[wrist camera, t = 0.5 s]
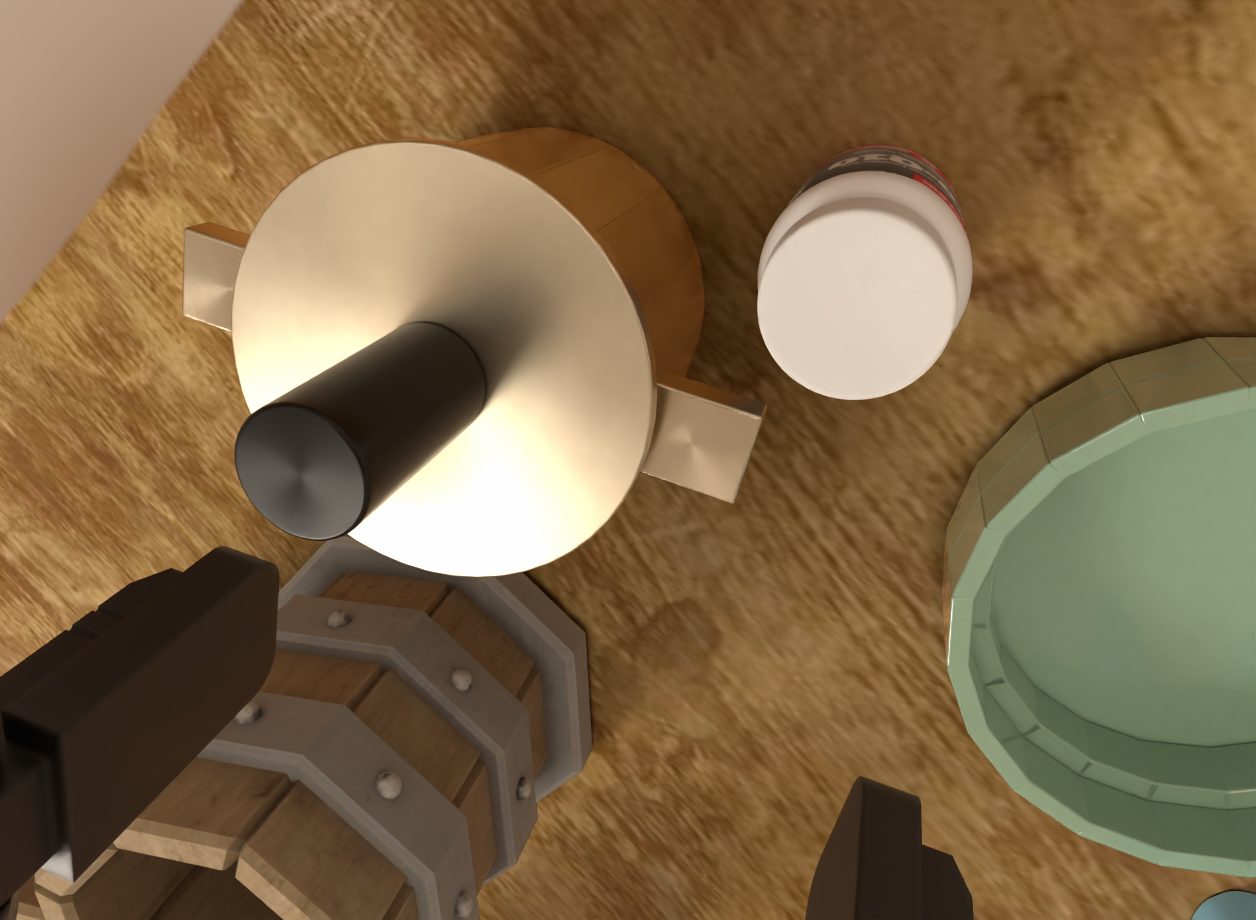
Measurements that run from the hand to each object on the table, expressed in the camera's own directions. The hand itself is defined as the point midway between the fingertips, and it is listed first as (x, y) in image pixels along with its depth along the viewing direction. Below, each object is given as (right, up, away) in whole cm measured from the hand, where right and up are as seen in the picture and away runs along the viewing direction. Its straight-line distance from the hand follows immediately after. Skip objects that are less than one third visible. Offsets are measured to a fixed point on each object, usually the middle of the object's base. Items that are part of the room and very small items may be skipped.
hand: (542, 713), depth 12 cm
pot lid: (-3, +5, +10) cm, 12 cm away
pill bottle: (+8, +10, +14) cm, 19 cm away
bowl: (+18, 0, +16) cm, 24 cm away
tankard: (-10, -4, +26) cm, 28 cm away
